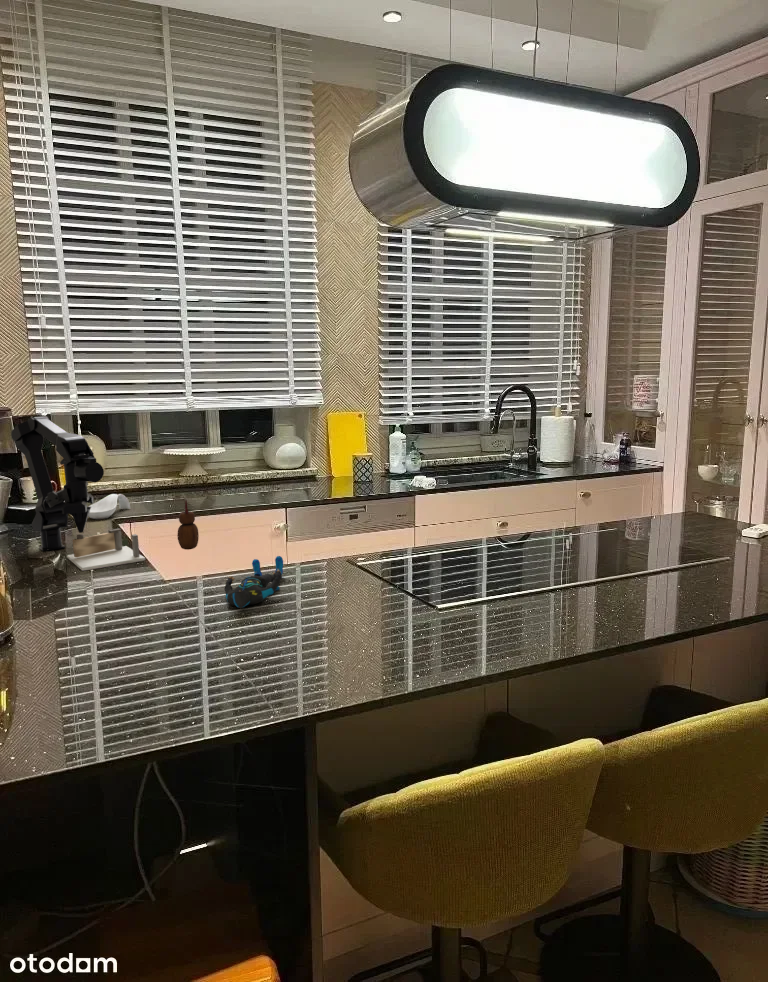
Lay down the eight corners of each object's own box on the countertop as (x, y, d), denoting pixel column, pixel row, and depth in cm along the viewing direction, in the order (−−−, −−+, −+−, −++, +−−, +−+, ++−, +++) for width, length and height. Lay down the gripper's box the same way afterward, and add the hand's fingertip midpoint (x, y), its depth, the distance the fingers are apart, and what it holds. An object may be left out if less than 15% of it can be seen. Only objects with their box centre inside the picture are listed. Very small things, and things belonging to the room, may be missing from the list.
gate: (119, 546, 225) (117, 527, 224) (122, 547, 224) (121, 527, 223) (73, 556, 215) (71, 536, 214) (76, 557, 214) (74, 536, 213)
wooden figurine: (195, 550, 223) (192, 500, 220) (176, 551, 223) (172, 501, 220) (201, 545, 229) (198, 497, 227) (182, 546, 230) (179, 497, 227)
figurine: (292, 553, 190) (265, 581, 160) (296, 577, 191) (270, 610, 161) (241, 560, 191) (205, 589, 162) (245, 584, 192) (210, 618, 162)
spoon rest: (106, 521, 275) (104, 501, 273) (77, 521, 277) (75, 501, 276) (138, 509, 298) (137, 491, 296) (111, 509, 300) (109, 491, 299)
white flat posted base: (67, 557, 219) (64, 534, 218) (126, 548, 229) (124, 526, 227) (82, 570, 204) (79, 545, 202) (145, 560, 213) (143, 536, 212)
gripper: (52, 477, 226) (57, 528, 228) (39, 486, 208) (45, 541, 210) (91, 475, 228) (96, 525, 231) (82, 483, 210) (87, 538, 213)
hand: (81, 532), depth 221 cm, fingers closed
